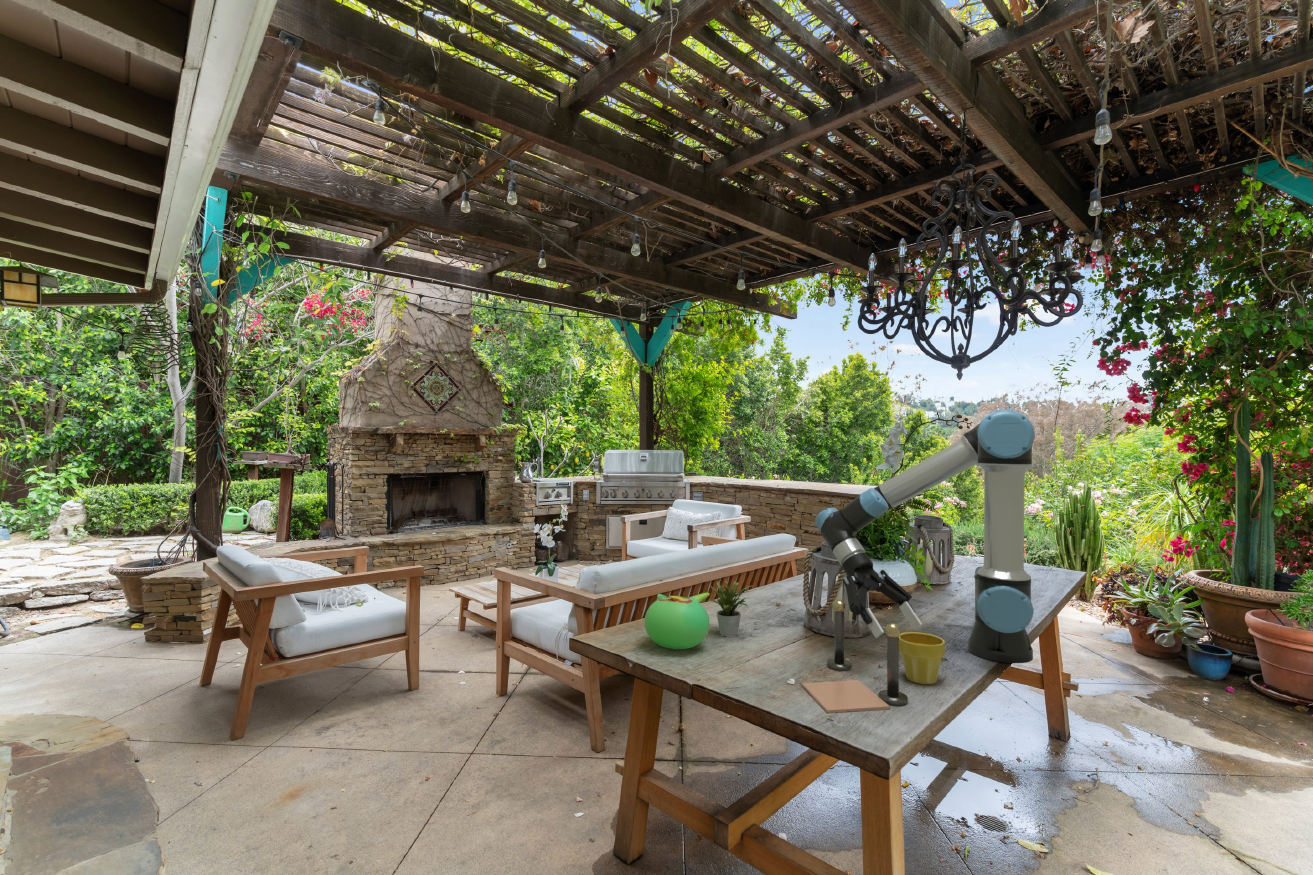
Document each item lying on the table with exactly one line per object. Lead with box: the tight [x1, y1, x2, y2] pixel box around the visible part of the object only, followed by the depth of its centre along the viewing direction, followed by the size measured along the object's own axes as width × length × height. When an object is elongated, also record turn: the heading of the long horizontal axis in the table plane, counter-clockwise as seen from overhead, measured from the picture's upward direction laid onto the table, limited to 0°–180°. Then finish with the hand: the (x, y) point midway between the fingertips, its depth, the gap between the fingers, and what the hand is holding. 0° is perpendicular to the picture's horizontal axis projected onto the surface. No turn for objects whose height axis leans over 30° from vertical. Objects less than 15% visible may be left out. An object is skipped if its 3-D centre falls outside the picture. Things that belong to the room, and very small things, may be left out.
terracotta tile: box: [801, 679, 891, 714], centre depth 131 cm, size 14×14×1 cm
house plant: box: [707, 578, 754, 637], centre depth 173 cm, size 14×14×16 cm
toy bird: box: [644, 592, 711, 650], centre depth 163 cm, size 18×17×15 cm
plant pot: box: [899, 631, 946, 685], centre depth 141 cm, size 10×10×10 cm
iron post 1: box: [826, 599, 853, 672], centre depth 149 cm, size 6×6×17 cm
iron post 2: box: [877, 622, 909, 707], centre depth 129 cm, size 6×6×17 cm
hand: (899, 631), depth 146 cm, fingers open, 13 cm apart
